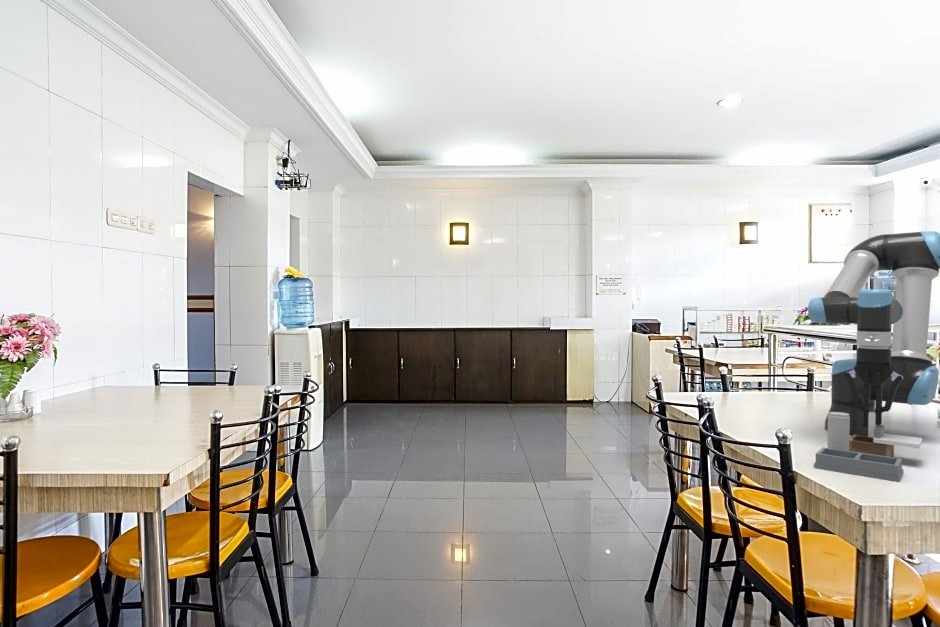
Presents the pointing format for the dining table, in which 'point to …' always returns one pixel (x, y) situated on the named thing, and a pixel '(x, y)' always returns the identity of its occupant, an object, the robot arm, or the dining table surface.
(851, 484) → the dining table surface
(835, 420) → the beverage can
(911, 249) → the robot arm
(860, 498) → the dining table surface
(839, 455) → the socket board
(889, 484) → the dining table surface
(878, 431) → the lid
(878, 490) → the dining table surface
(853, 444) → the tray
